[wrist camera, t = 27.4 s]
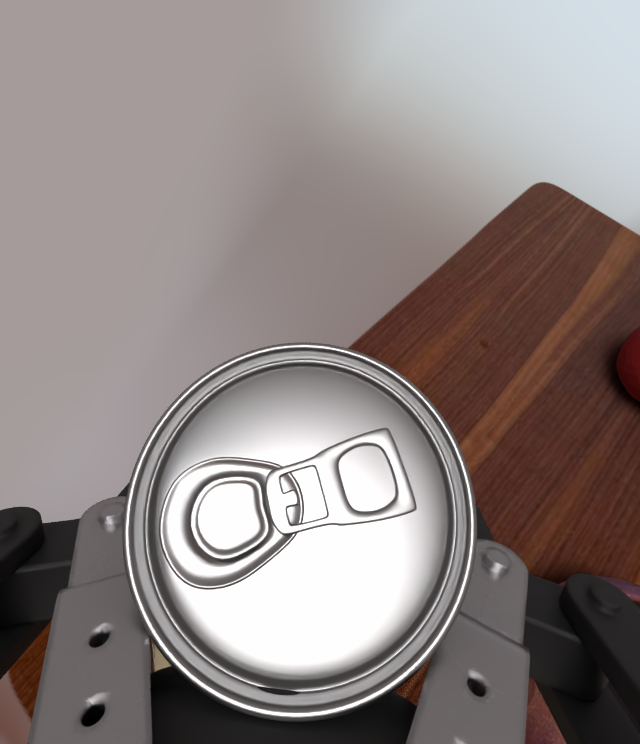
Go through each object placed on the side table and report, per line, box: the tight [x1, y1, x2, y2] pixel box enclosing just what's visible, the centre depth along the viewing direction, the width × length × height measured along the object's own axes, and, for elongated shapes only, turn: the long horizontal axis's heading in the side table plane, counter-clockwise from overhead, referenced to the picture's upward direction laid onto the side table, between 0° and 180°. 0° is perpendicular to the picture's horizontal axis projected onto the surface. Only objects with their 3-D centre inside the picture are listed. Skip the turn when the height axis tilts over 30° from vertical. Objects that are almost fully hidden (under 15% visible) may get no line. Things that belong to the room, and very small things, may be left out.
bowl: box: [525, 575, 640, 744], centre depth 24 cm, size 16×13×8 cm
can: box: [122, 343, 477, 722], centre depth 11 cm, size 6×6×12 cm
